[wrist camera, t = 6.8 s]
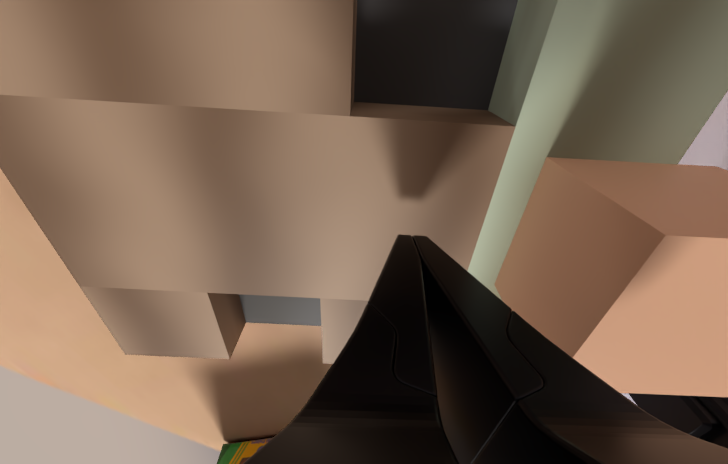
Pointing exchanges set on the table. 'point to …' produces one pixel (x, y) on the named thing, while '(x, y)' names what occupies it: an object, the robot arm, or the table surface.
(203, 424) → the table surface
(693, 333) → the terracotta block
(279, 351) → the table surface
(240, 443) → the chalk box
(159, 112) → the trap board
